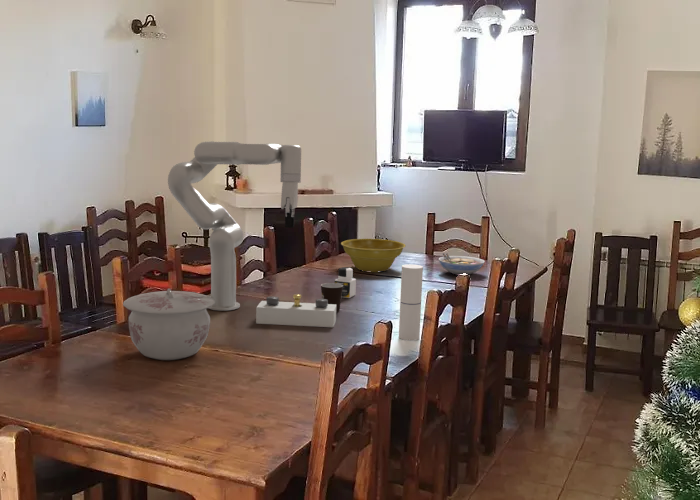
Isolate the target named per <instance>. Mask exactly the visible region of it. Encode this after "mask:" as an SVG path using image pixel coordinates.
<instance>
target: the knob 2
mask: <svg viewBox="0 0 700 500" xmlns="http://www.w3.org/2000/svg"><path fill="white" fill-rule="evenodd" d="M315 303H316V306H317V307H319V308H325V307H327V306H328V300H327V299H322V298H317V299H315Z"/></svg>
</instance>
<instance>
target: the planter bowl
mask: <svg viewBox="0 0 700 500" xmlns="http://www.w3.org/2000/svg"><path fill="white" fill-rule="evenodd" d="M340 245H341V246H342V247H343V250H344V252H345V254H347V255H348V256H349V257H350V259H351V262H352V264H353V265H354V266H355V268H356V269H358V271H360V270H363V271H362V272H364V271H371V272H370V273H379V272H378V271H384V272H386V271H387V270H388V269H390V268H391V267H392V265H394V261H395V259H396V258H398V257H399V256H400V255H401V254H402V252H403V249H404V248H406V244H405V243H403V242H402V241H401V242H400V241H396V240H391V239H384V238H383V239H382V238H381V239H380V238H353V239H347V240H344V241H341V242H340ZM385 270H386V271H385Z"/></svg>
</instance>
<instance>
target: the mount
mask: <svg viewBox="0 0 700 500" xmlns="http://www.w3.org/2000/svg"><path fill="white" fill-rule="evenodd" d="M255 313H256V315H255V319H256V320H255V324H260V325H261V324H262V325H278V326H280V325H283V326H298V327H303V326H304V327H319V328H320V327H321V328H323V327H324V328H334V327H335V324H336V321H337V312H336V304H328V306H327V307H325V308H319V307H317V306H316V302H314V303H312V302H300V307H294V301H292V302H291V301H290V302H289V301H279V304H276V306H270V304H267V300H261V301H260V302H259V303H258V305H257V306H256V309H255Z"/></svg>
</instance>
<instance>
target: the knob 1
mask: <svg viewBox="0 0 700 500" xmlns="http://www.w3.org/2000/svg"><path fill="white" fill-rule="evenodd" d="M266 301H267V304H270V306H276V304H279V302H280V301H279V297H278V296H267V297H266Z"/></svg>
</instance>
